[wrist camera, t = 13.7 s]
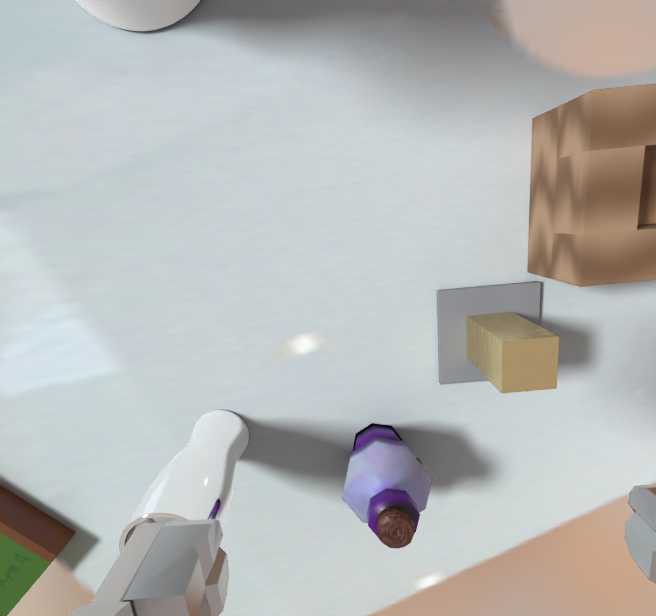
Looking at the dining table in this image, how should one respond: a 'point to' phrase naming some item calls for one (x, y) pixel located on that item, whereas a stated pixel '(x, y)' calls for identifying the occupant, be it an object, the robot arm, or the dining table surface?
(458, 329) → the slate pad
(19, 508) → the hardcover book
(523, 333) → the tan wooden block
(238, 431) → the beer glass
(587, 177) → the wooden slotted box
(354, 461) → the potion bottle
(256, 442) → the dining table surface
